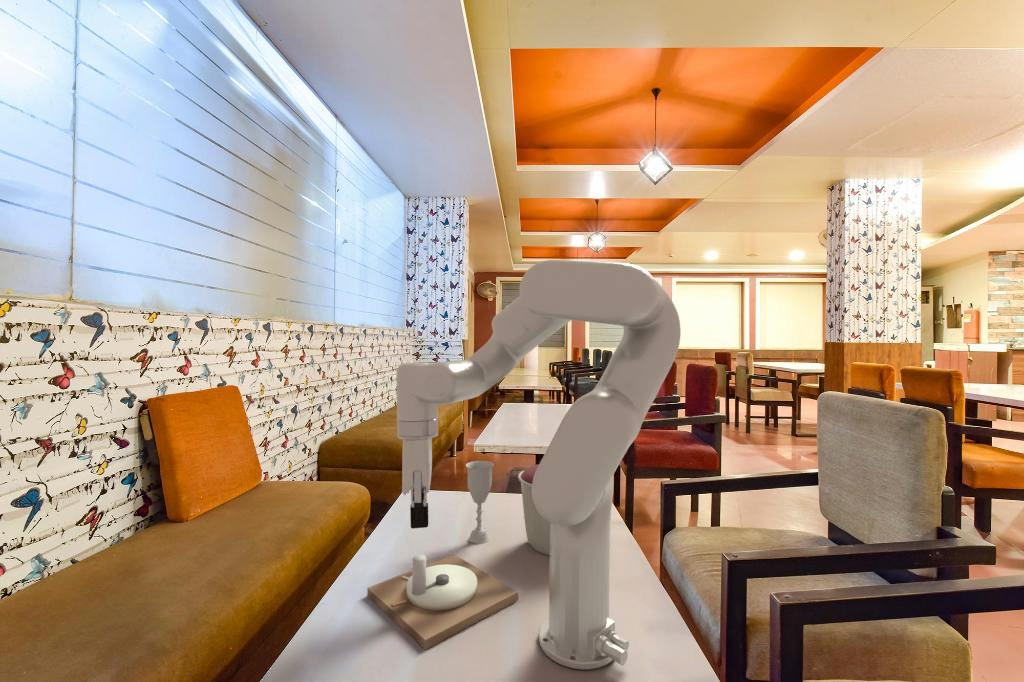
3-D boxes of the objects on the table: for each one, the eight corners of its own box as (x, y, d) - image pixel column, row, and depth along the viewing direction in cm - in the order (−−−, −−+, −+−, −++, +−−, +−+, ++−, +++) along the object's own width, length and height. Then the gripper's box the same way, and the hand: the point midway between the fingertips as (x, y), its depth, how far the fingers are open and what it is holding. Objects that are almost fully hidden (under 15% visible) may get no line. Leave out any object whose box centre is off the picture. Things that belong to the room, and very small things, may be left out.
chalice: (488, 547, 106) (489, 469, 106) (460, 544, 107) (461, 468, 107) (496, 533, 113) (497, 461, 113) (470, 531, 114) (470, 459, 114)
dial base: (517, 600, 84) (517, 591, 84) (425, 649, 71) (425, 638, 71) (454, 561, 99) (454, 553, 99) (367, 595, 85) (367, 586, 85)
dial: (450, 565, 94) (451, 529, 94) (491, 591, 84) (491, 551, 84) (393, 588, 85) (394, 548, 85) (431, 620, 76) (432, 575, 76)
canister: (506, 557, 101) (507, 462, 101) (529, 525, 118) (530, 445, 118) (587, 571, 95) (589, 471, 95) (599, 536, 112) (600, 451, 112)
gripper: (400, 422, 92) (402, 513, 92) (393, 437, 77) (395, 545, 77) (438, 421, 93) (439, 510, 93) (438, 434, 78) (440, 541, 78)
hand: (419, 526), depth 85 cm, fingers closed
